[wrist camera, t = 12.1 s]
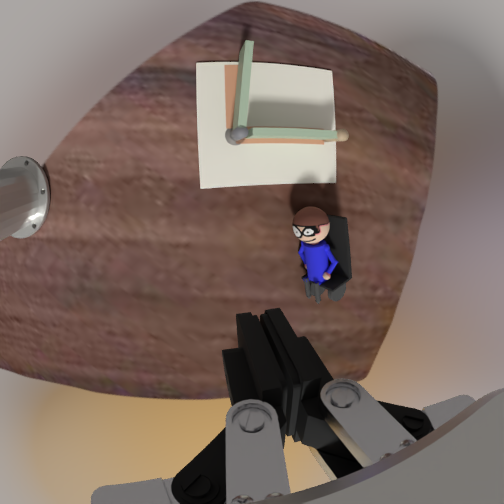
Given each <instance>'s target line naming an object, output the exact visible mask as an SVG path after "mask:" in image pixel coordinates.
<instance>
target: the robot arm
mask: <svg viewBox="0 0 504 504" xmlns="http://www.w3.org/2000/svg"><path fill="white" fill-rule="evenodd" d="M49 205H50V189H49V184H48V179H47V177H46V174H45V172H44V170H43V169H42V167H41V166H40V165H39V164H38V162H36V161H35V160H34V159H32V158H29V157H23V156H21V157H15V158H12V159H10V160H9V161H7V162H6V163H5V164H4V165H3V166H2V168H1V169H0V241H1V240H3V239H5V238H7V237H8V236H10V235H11V236H13V237H16V238H26V237H29V236H31V235H32V234H34V233H35V232H37V231H38V230H39V229H40V227H41V226H42V225H43V223H44V221H45V219H46V217H47V214H48V210H49ZM236 323H237V335H238V348H233V349H226V350H222V356H223V364H224V370H225V376H226V382H227V387H228V391H229V396H230V400H231V405H232V407H231V408H230V409H229V411H228V412H227V415H226V427H225V428H224V429H223V430H222V431H221V432H220V433H219V434H218V435H217V436H216V437H215V439H213V440H212V441H211V442H210V444H208V445H207V446H206V448H204V449H203V450H202V451H201V452H200V453H199V454H198V455H197V456H196V457H195V458H194V459H193V460H192V461H191V462H190V463H188V464H187V465H186V466H185V467H184V468H183V469H182V470H181V471H180V472H179V473H177V475H176V476H175V477H173V478H170V479H164V480H162V478H157V479H152V480H146V481H141V482H134V483H126V484H118V485H107V486H102V487H99V488H98V489H97V490H95V491H94V492H93V494H92V496H91V504H504V388H502V389H499V390H496V391H493V392H491V393H489V394H487V395H485V396H483V397H482V398H480V399H478V400H477V401H475V400H474V399H473V398H472V397H470V396H468V395H459V396H457V397H454V398H451V399H448V400H446V401H442V402H439V403H436V404H433V405H430V406H427V407H424V408H423V410H422V411H421V410H417V409H414V408H408V407H404V406H399V405H394V404H390V403H386V402H381V401H377V400H375V399H374V398H373V397H372V396H371V395H370V394H369V393H368V392H367V391H366V390H365V389H364V388H363V387H362V386H361V385H360V384H358V383H357V382H355V381H352V380H349V379H336V380H334V379H333V378H332V376H331V375H330V373H329V372H328V370H327V368H326V367H325V365H324V364H323V362H322V361H321V359H320V358H319V356H318V355H317V353H316V351H315V350H314V348H313V347H312V345H311V344H310V342H309V341H308V339H307V338H306V337H304V336H303V337H297V336H296V334H295V332H294V331H293V329H292V327H291V326H290V324H289V322H288V321H287V319H286V317H285V316H284V314H283V312H282V311H281V309H280V308H275V309H269V310H265V314H261V315H260V321H259V319H258V317H257V315H254V316H252V314H251V312H248V313H241V314H236ZM285 434H286V435H287V436H291V435H292V438H293V440H294V442H298V441H301V442H302V444H304V445H307V446H309V449H310V451H311V453H312V454H313V456H314V457H315V459H316V460H317V461H318V463H319V464H320V466H321V467H322V468H323V470H324V471H325V472H326V474H327V476H328V477H329V478H330V480H331V481H330V482H327V483H325V484H322V485H318V486H315V487H312V488H309V489H306V490H303V491H299V492H295V493H290V487H289V481H288V475H287V470H286V463H285V458H284V452H283V449H284V443H285Z"/></svg>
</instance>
